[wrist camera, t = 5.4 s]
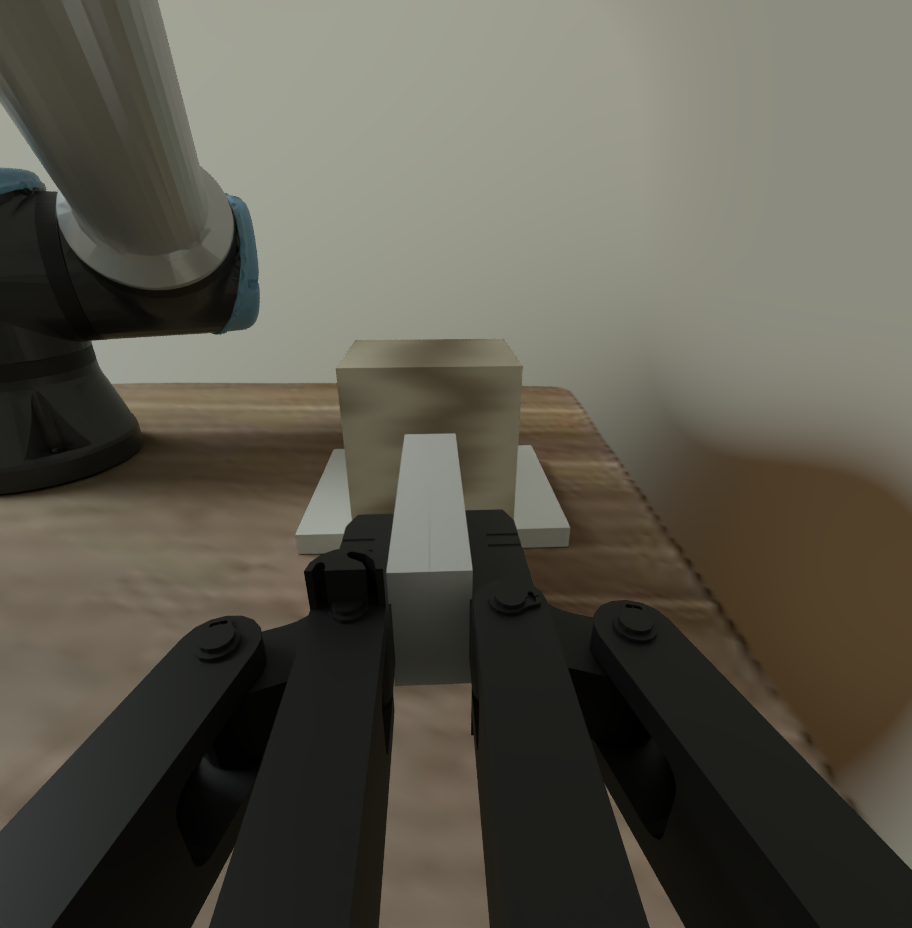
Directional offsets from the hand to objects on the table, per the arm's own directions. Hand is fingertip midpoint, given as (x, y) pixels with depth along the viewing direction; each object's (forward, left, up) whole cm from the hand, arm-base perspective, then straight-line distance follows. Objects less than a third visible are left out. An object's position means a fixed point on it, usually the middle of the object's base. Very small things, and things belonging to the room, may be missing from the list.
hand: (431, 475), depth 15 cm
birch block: (0, +11, -13) cm, 16 cm away
